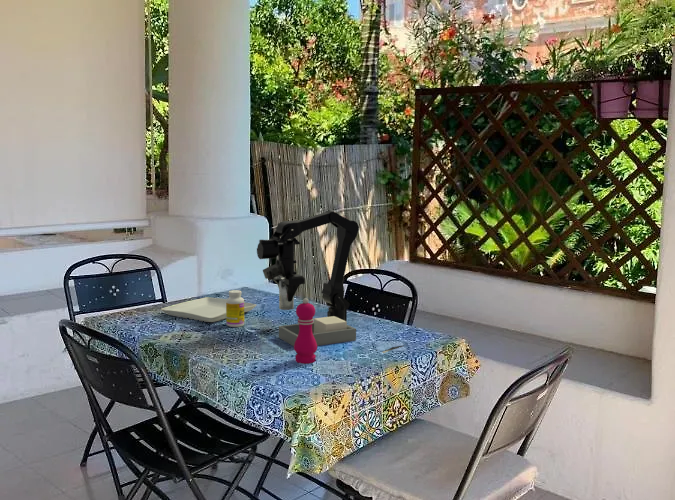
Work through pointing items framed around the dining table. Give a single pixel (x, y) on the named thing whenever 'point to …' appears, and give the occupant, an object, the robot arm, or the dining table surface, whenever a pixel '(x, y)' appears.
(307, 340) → the pepper mill
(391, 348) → the butter knife
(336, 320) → the cream hollow cover
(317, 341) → the tote
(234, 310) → the supplement bottle
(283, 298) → the tin
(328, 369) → the dining table surface
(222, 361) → the dining table surface
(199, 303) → the square plate
